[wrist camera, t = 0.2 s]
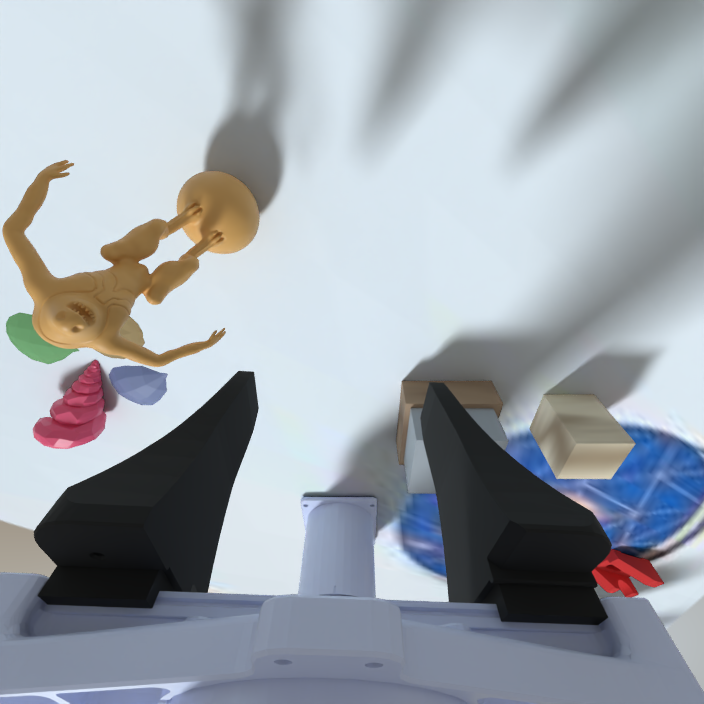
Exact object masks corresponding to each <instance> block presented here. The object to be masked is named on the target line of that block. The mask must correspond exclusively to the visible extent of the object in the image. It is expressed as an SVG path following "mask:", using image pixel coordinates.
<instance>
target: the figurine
mask: <svg viewBox="0 0 704 704" xmlns="http://www.w3.org/2000/svg"><path fill="white" fill-rule="evenodd" d="M68 162H69V161H67V160H64V161H61V162H57V163H54V164H52V165H50V166H48V167H46V168H45V169H44V170H43V171H41V172H40V173H39V174H38V175H37V177H36V179H35V180H34V182H33V183H32V184H31V185H30V186H29V187H28V189H27V191H26V193H25V195H24V197H23V199H22V201H21V203H20V205H19V206H18V208H17V210H16V211H15V212H14V213H13V214H12V215H11V216H10V217H9V218H8V219H7V221H6V222H5V223H4V225H3V237H4V240H5V242H6V245H7V247H8V249H9V251H10V253H11V255H12V257H13V259H14V261H15V262H16V264H17V265H18V267H19V269H20V271H21V273H22V276H23V281H24V285H25V288H26V290H27V292H28V293H29V295H30V296H31V297H32V299H33V301H34V304H35V306H34V311H33V314H32V324H33V327H34V329H35V331H36V332H37V333H38V335H39V336H40V337H41V338H42V339H43V340H45V341H46V342H48V343H50V344H52V345H54V346H56V347H60V348H65V349H76V348H84V347H89V348H93V349H95V350H97V351H100V352H102V353H105V354H109V355H117V356H122V357H125V358H127V359H130V360H132V361H135V362H138V363H141V364H145V365H148V366H153V367H160V366H164V365H166V364H168V363H170V362H172V361H174V360H176V359H179V358H182V357H185V356H188V355H192V354H195V353H198V352H200V351H201V350H204V349H207V348H209V347H211V346H213V345H214V344H215V343H217V342H218V341H219V340H220V339H221V338H222V337H223V336H224V334H225V333H226V331H224V330H225V328H223V329H222V330H221V331H220V332H219V333H217V334H216V332H217V330H216V331H214V332H213V334H212V335H211V337H210V338H209V340H207V341H204V342H195V343H191V344H187V345H184V346H182V347H180V348H177V349H174V350H169V351H167V352H165V353H163V354H160V355H158V354H155V353H154V352H152V351H150V350H148V349H146V348H144V347H142V346H140V345H138V344H136V343H134V342H131V341H129V340H127V339H125V338H123V337H122V336H121V335H120V329H121V327H122V326H123V325H124V323H125V322H126V321H127V320H128V318H129V315H130V313H131V308H132V307H133V305H134V302H135V299H136V298H137V297H138V296H139V295H140V294H141V293H143V294H144V296H145V297H146V299H147V301H148V302H149V303H150V304H153V305H158V304H160V303H161V302H162V301H163V299H164V298H165V297H166V296H167V294H168V293H169V292H171V291H172V290H173V289H175V288H177V287H178V286H180V285H182V284H183V283H184V282H186V281H187V280H188V279H189V277H190V276H191V275H192V274H193V273H194V272H195V271H196V270H197V269H198V268H199V260H198V259H197V257H199V256H200V255H202V254H203V253H204V252H206V251H210V252H213V253H218V254H229V253H234V252H237V251H239V250H241V249H243V248H245V247H246V246H247V245H248V244H249V243H250V242H251V241H252V240H253V238H254V237H255V235H256V233H257V230H258V226H259V210H258V206H257V203H256V200H255V198H254V196H253V195H252V193H251V191H250V190H249V189H248V188H247V187H246V185H245V184H243V183H242V182H241V181H240V180H238V179H237V178H235V177H234V176H232V175H230V174H227V173H224V172H220V171H205V172H201V173H198V174H196V175H194V176H193V177H191V178H190V179H189V180H188V181H187V182H186V183H185V184H184V185H183V187H182V188H181V190H180V192H179V195H178V199H177V214H178V216H176V217H175V218H173V219H172V220H170V221H169V222H167V223H166V221H164V220H161V219H153V220H151V221H149V222H147V223H145V224H143V225H140V226H138V227H136V228H134V229H133V230H131V231H130V232H129V233H128V234H127V235H126V236H124V237H123V238H122V239H120V240H118V241H116V242H113V243H110V244H107V245H104V246H103V247H102V248H101V255H102V257H103V258H104V259H106V260H108V261H109V262H111V263H112V264H113V265H114V266H113V267H111V268H109V269H106V270H101V271H95V272H84V273H77V274H74V275H72V276H69V277H66V278H56V277H54V276H53V275H52V274H51V273H50V272H49V271H48V269H47V267H46V266H45V264H44V262H43V261H42V259H41V258H40V256H39V255H38V253H37V251H36V250H35V248H34V247H33V245H32V244H31V243H30V241H29V240H28V239H27V237H26V236H25V234H24V231H25V230H26V228H27V227H28V226H29V225H30V224H31V223H32V220H33V218H34V215H35V214H36V212H37V211H38V210H39V209H40V207H41V206H42V204H43V202H44V200H45V198H46V195H47V191H48V186H49V182H50V181H51V180H52V179H55V178H61V177H65V176H68V175H69V174H70V173H60V172H62V171H64V170H66V169H67V168H69V167H71V166H73V165H74V163H70V164H66V163H68ZM65 164H66V165H65ZM180 228H183V230H184V232H185V233H186V234H187V236H188V237H189V238H190V239H191V240H192V241H193V242H194V243H195V244H196V245H195V246H194V247H192V248H191V249H190V250H189V251H188V252H187V253H186V254H183V255H182V256H181V257H180V258H179V261H168V262H165V263H162V264H161V265H159V266H158V267H157V268H156V269H155V270H154V272H153V273H152V274H149V272H148V268H147V267H146V266H145V265H143V264H140V263H138V262H139V261H140V260H142V259H145V258H147V257H149V256H151V255H152V254H153V253H154V252H155V251H156V250H157V248H158V244H159V240H162V239H165V238H167V237H168V235H170V234H172V233H174V232H176V231H177V230H179V229H180ZM223 331H224V332H223ZM215 334H216V335H215Z"/></svg>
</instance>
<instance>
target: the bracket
mask: <svg viewBox="0 0 704 704" xmlns="http://www.w3.org/2000/svg"><path fill="white" fill-rule="evenodd" d="M592 574H593V575H594V577H595V579H596V581H597V583H598V584H599V585H600V586H601V587H602V588H603V589H604V590H605V591H606V592H609V593H614V592H616V591H618V590H621V591H622V593H623V594H624V596H625V597H634V596H636V595H638V592H637V590H636V589H635V587H634V585H633V584H632V582H631V580H630V579H629V577H630V576H632V577H633V578H635V579H637V580H638V581H640V582H642V583H643V584H645V585H648V586H651V587H657V586H659V585H662V584H664V582H663V581H662V579H661V578H660V576H659V575H658V573H657V572H656V570H655V569H654V567H653V566H652V564H651V563H650V561H649V560H647V559H644V558H637V557H633V556H630V555H627V554H623V553H621V552H620V551H618V550H614V549H612V550H611V551H610V553H609V554H608V556H607V557H606V558H605V559H604V560H603V561H602V562H601V563H600V564H599V565H598V566H597V567H596V568H595V569H594V570H593V571H592Z"/></svg>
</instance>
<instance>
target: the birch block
mask: <svg viewBox="0 0 704 704" xmlns="http://www.w3.org/2000/svg"><path fill="white" fill-rule="evenodd" d="M530 431H531V433H532V434H533V436H534V438H535V440H536V442H537V443H538V445H539V447H540V449H541V451H542V453H543V454H544V456H545V458H546V460H547V462H548V463H549V465H550V467H551V469H552V471H553V473H554V474H555V476H556V478H557V479H611V478H612V476H613V475H614V474H615V472H616V471H617V469H618V468H619V466H620V465H621V464H622V462H623V461H624V459H625V458H626V457H627V455H628V454H629V452H630V451H631V449H632V448H633V447H634V445H635V444H636V443H635V442H634V441H633V440H632V439H631V437H630V436H629V435H628V434H627V433H626V432H625V430H624V429H623V428H622V427H621V426H620V424H619V423H618V422H617V421H616V420H615V419H614V417H613V416H612V415H611V414H610V413H609V412H608V410H607V409H606V408H605V407H604V406H603V404H602V403H601V402H600V401H599V400H598V399H597V397H596V396H595V395H594V394H559V395H543V397H542V400H541V402H540V405H539V407H538V409H537V412H536V414H535V417H534V419H533V421H532V424H531V426H530Z"/></svg>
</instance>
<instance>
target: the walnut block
mask: <svg viewBox="0 0 704 704" xmlns="http://www.w3.org/2000/svg"><path fill="white" fill-rule="evenodd" d="M429 382H437V383H444V384H445V385H446V386H447V387H448V388H449V390H450V391H451V392H452V394H453V395H454V396H455V397H456V399H457V400H458V401H459V402H460V404H461V405H462V406H463V407H464V408H494V411H495V413H496V415H497V417H498V418H499V415H500V412H501V409H502V406H503V403H502V401H501V399H500V397H499V395H498V393H497V391H496V389H495V387H494V385H493V383H492V381H402V385H401V395H400V406H399V416H398V426H397V436H396V444H397V453H398V461H399V465H404V455H405V447H406V439H407V432H408V424H409V416H410V409H411V408H423V405H424V401H425V397H426V393H427V389H428V386H429Z"/></svg>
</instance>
